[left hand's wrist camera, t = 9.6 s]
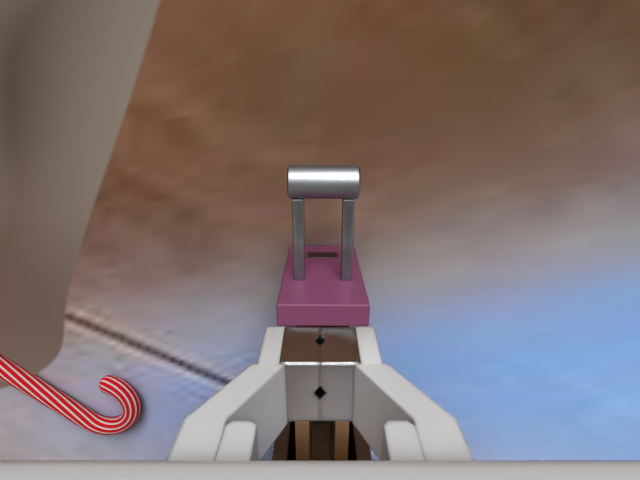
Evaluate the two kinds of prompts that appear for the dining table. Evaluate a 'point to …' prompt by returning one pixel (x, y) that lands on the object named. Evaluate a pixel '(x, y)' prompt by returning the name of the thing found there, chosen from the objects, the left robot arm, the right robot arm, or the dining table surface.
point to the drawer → (322, 287)
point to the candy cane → (72, 408)
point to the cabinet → (287, 446)
